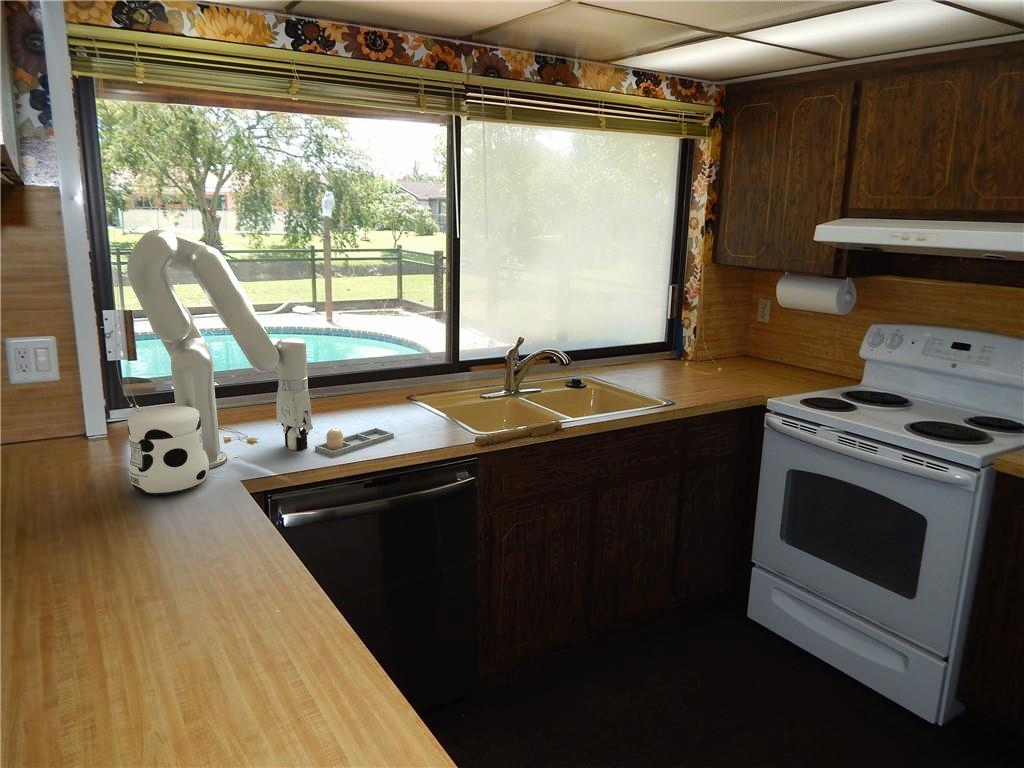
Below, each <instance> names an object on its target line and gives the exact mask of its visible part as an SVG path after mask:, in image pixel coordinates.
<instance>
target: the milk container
mask: <svg viewBox="0 0 1024 768" xmlns="http://www.w3.org/2000/svg"><path fill="white" fill-rule="evenodd" d="M127 432H128V441H129V442H128V443H129V447H130V460H129V465H128V466H129V467H128V475H129V479H130V483H131V485H132V486H133V488H134V489H135V490H136V491H137V492H139V493H142V494H146V495H153V496H160V495H161V496H166V495H173V494H180V493H183V492H186V491H189V490H193V489H194V488H196V487H199V486H200V485H202V484H203V483H204V482H205V481H207V478H208V477H209V470H210V468H209V460H208V457H207V454H206V452H205V449H204V447H203V441H202V428H201V419H200V414H199V411H198V410H197V409H195V408H191V407H184V406H176V405H172V406H171V405H170V406H169V405H168V406H161V407H160V406H158V407H154V408H147V409H144V410H141V411H137V412H134V413H133V414H131V415H129V417H128V419H127Z"/></svg>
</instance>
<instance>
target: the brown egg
mask: <svg viewBox="0 0 1024 768" xmlns="http://www.w3.org/2000/svg"><path fill="white" fill-rule="evenodd" d="M325 437H326V442H327V449H329V450H331V451H335V450H338V449H341V448H343V437H344V434H343V432H342V431H341V430H340V429H339V428H336V427H334V428H331V429H329V430H328V431H327V433H326V436H325Z"/></svg>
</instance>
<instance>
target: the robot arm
mask: <svg viewBox="0 0 1024 768" xmlns="http://www.w3.org/2000/svg"><path fill="white" fill-rule="evenodd" d="M126 266H127V267H126V270H127V271H126V272H127V277H128V281H129V283H130V286H131V287H132V291H133V292H134V294H135V296H136V298H137V300H138V303H139V304H140V306H141V309H142V311H143V312H144V315H145V316H146V318H147V320H148V322H149V325H150V327H151V329H152V332H153V333H154V335H155V336H156V337H157V338H159V339H160V341H161V342H162V344H163V346H164V348H165V350H166V352H167V353H168V356H169V357H170V368H171V369H170V370H171V377H172V378H171V380H172V384H173V395H174V402H175V403H174V406H184V407H191V408H195V409H197V410H198V411H199V414H200V419H201V428H202V441H203V447H204V449H205V452H206V454H207V457H208V460H209V469H213V468H215V467H219V466H221V465H223V464H224V463H226V462H227V461H228V455H227V453H226V452H224V451H221V444H220V433H219V424H218V423H219V422H218V411H217V402H216V392H215V377H214V376H215V375H214V363H213V359H212V353H211V352H210V351H211V350H210V349H209V346H208V345H207V343H206V341H205V338H204V337H203V334H202V333H201V330H200V328H199V327H198V325H197V323H196V321H195V319H194V317H193V315H192V313H191V311H190V310H189V309H188V307H187V306H186V305H185V304H184V303H183V302H181V299H180V297H179V296H178V293H177V291H175V290H176V289H175V287H174V286H173V284H172V282H171V280H170V278H169V276H168V275H169V274H168V268H171V269H174V270H176V271H179V272H184V273H185V274H186V273H187V274H191V275H193V277H194V278H195V280H196V282H197V283H198V286H200V288H201V290H202V291H203V293H204V294H205V296H206V297H207V299H208V301H209V302H210V305H211V306H212V307H213V309H214V311H215V313H216V314H217V315H218V318H219V319H220V320H221V322H222V324H223V325H224V326H225V327H226V329H228V331H229V332H230V334H231V335H232V337H233V339H234V340H235V342H236V344H237V345H238V347H239V348H240V350H241V351H242V353H243V355H244V356H245V358H246V360H247V361H248V363H249V365H250V367H252V368H253V369H254V370H255V371H257V372H260V373H269V372H271V371H274V370H275V369H276V368H277V374H278V375H277V377H278V380H277V381H278V388H277V393H276V420H277V422H279V424H281V427H282V431H283V433H284V444H285V445H284V446H285V447H287V448H288V437H287V434H288V431H289V430H290V429H291V428H293V427H294V428H296V432H297V437H296V450H295V451H297V452H298V451H302V450H306V449H308V436H309V433H310V431H312V430H313V429H314V427H313V424H312V408H311V399H310V393H309V386H308V385H309V384H308V383H309V381H308V380H309V379H308V361H307V360H308V358H307V342H306V341H305V340H304V339H303V338H300V337H284V338H272V337H271V338H270V336H269V333H268V332H267V331H266V329H265V328H264V326H263V324H262V322H261V320H260V318H259V317H258V315H257V312H256V310H255V308H254V307H253V304H252V303H251V301H250V298H249V296H248V295H247V294H246V292H245V290H244V288H243V287H242V286H241V284H240V282H239V281H238V278H237V277H236V275H235V274H234V272H233V270H232V269H231V267H230V266H229V264H228V262H227V261H226V258H225V257H224V256H223V254H222V253H221V252H220V251H219V249H217V248H215V247H212V246H211V245H206V244H204V243H201V242H198V241H195V240H192V239H189V238H186V237H183V236H181V235H178V234H175V233H172V232H170V231H167V230H165V229H151V230H149V231H147V232H145V233H144V234H143V235H142V236H141V238H139V240H138V241H137V242H136V244H135V245H134V246H133V248H132V249H131V251H130V253H129V255H128V259H127V265H126ZM300 428H301V429H302V430H301V431H300Z"/></svg>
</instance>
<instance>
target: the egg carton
mask: <svg viewBox="0 0 1024 768" xmlns="http://www.w3.org/2000/svg"><path fill="white" fill-rule="evenodd" d="M394 435H395V434H394V432H393V431H388V430H385V429H381V428H379V427H373V428H369V429H367V430H363V431H360V432H356V433H354V434H350V435H346V436H343V448H341V449H338V450H335V451H331V450H329V449H327V441H326V442H324V443H321V444H317V445H314V449H313V450H312V452H313V453H316V454H319V455H321V456H323V457H327V458H330V459H335V458H338V457H341V456H345V455H347V454H350V453H354V452H358V451H361V450H363V449H366V448H370V447H373V446H376V445H379V444H382V443H385V442H387V441H391V440H395V439H397V438H398V437H397V436H394Z"/></svg>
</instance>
